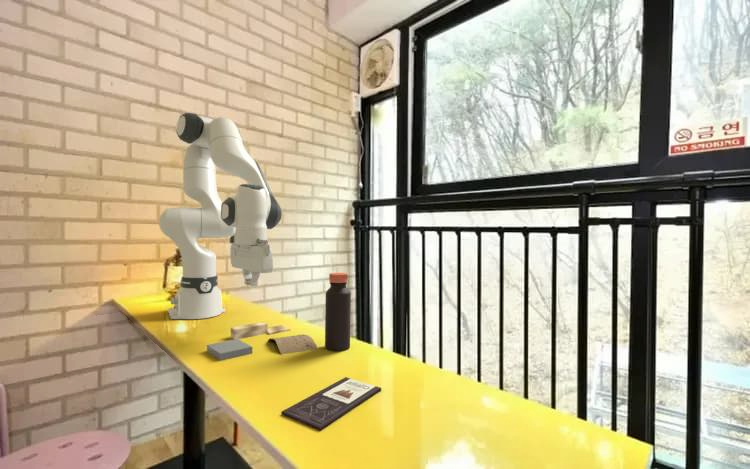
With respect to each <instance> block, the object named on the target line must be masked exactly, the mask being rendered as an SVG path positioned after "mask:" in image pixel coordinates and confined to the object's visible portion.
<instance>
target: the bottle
mask: <svg viewBox="0 0 750 469" xmlns="http://www.w3.org/2000/svg"><path fill="white" fill-rule="evenodd" d="M348 275H349V274H348V273H345V272H331V273H329V276H328V277H329V279H328V281H329V285H330V287H329V288H328V289H327V290H326V292H325V307H324V308H325V313H324V317H325V318H324V325H325V326H324V347H325V349H326V350H328V351H332V352H342V351H345V350H349V348H350V347H351V302H352V300H351V299H352V298H351V295H352V293H351V290H350V289H348V287H347V284H348V281H349V280H348V279H349V278H348V277H349V276H348Z"/></svg>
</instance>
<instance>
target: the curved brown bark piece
mask: <svg viewBox="0 0 750 469" xmlns="http://www.w3.org/2000/svg"><path fill="white" fill-rule="evenodd" d="M274 341H275V343H276V345H277V348H278V351H279V353H280V354H281V356H282V355H287V354H294V353H301V352H306V351H315V350H318V346H317V344H316V342H315V340H314V339H313V338H312V337H311V336H310V335H308V334H297V335H290V336H288V335H287V336H281V337H275V338H274V337H272V338H271V337H270V338H269V339H267V342H274Z"/></svg>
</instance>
